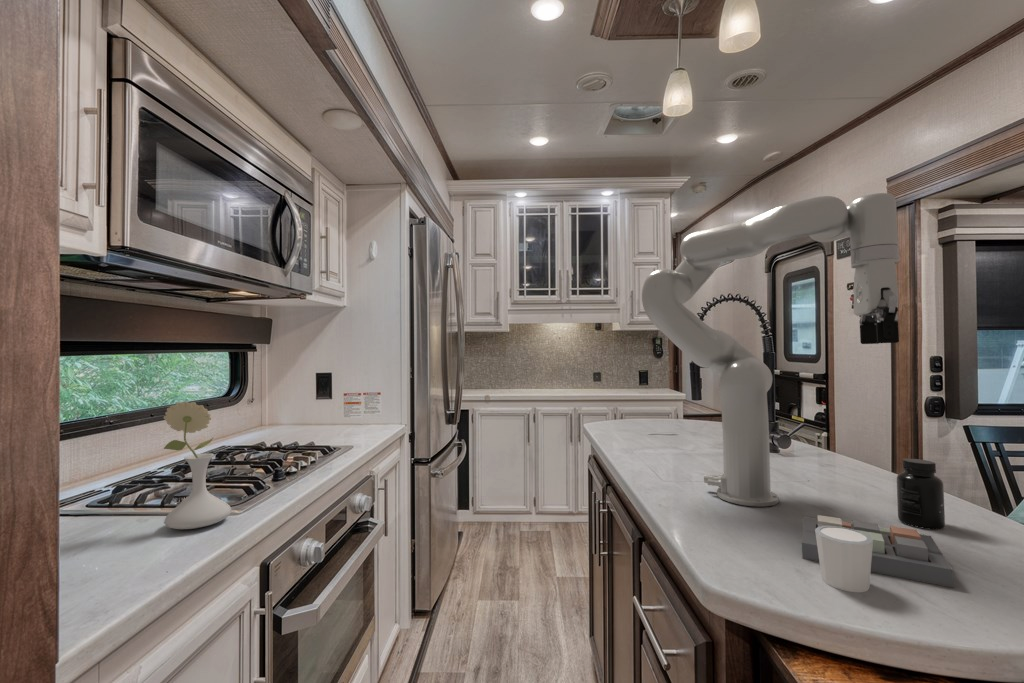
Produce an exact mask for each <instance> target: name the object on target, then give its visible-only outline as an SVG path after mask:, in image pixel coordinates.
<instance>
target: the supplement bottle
mask: <svg viewBox="0 0 1024 683" xmlns="http://www.w3.org/2000/svg"><path fill="white" fill-rule="evenodd" d="M901 468H902V470H903V471H902V472H899V473H898V475H897V476H896V496H897V498H896V502H897V504H896V505H897V517H898V520H899V521H900V522H901V521H902V522H901V523H903V524H905V523H906V524H905V525H908V524H909V525H908V526H911V525H913V526H912V527H915V526H918V527H917V528H919V527H923V528H922V529H925V528H930V529H929V530H940V529H941V528H942V529H944V527H945V524H946V515H945V514H946V513H945V512H946V511H945V491H944V489H945V488H944V482H943V481H942V479H941V478H940V477H938V476H936V475H935V474H937V469H936V463H935V462H934V461H931V460H926V459H918V458H903V459H902V466H901Z"/></svg>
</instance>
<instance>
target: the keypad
mask: <svg viewBox="0 0 1024 683" xmlns="http://www.w3.org/2000/svg"><path fill="white" fill-rule="evenodd" d="M821 526H828V525H822V524H818V517H817V518H816V517H809V516H805V515H804V516H802V531H801V532H802V534H801V558H802V559H804V560H810V561H816V562H819V555H818V547H817V540H816V532H815V529H816V528H817V527H821ZM842 527H845V528H849V529H853V530H860V531H866V532H872V533H878V534H882V537H883V539H884V547H885V554H882V553H876V552H872V560H871V573H876V574H881V575H886V576H887V575H888V576H892V577H897V578H901V579H907V580H912V581H917V582H922V583H928V584H932V585H936V586H942V587H948V588H952V589H953V588H954V572H953V571H954V569H953V568H952V566H951V565H950V563H949V562H948V560H947V559H946V557H945V556H944V554H943V553H942V551H941V550H940V548H939V546H938V545H937V544H936V541H935V540H934V538H933V537H932V536H931V535H927V534H920V533H919V535H920V536H921V540H916V539H910V538H904V537H897V536H894V540H895V545H893V544H891V542H890V528H887V527H881V526H879V524H878V523H875V522H874V523H873V522H867V521H860V520H855V519H853V520H852V523H851V522H847V521H842Z"/></svg>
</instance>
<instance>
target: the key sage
mask: <svg viewBox="0 0 1024 683" xmlns="http://www.w3.org/2000/svg"><path fill="white" fill-rule="evenodd" d="M857 531H860V530H857ZM860 532H862V533H865V534H867V535H868V536H870V537H871V538H872V540H873V548H872V552H876V553H882V554H885V547H884V539H883V537H882V534H878V533H872V532H866V531H860Z"/></svg>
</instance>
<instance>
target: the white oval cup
mask: <svg viewBox="0 0 1024 683" xmlns="http://www.w3.org/2000/svg"><path fill="white" fill-rule="evenodd" d="M815 532H816V540H817V547H818V555H819V561H818V563H819V568H820V576H821V580H822V581H823V582H824V583H825V584H827V585H829V586H830V587H833V588H835V589H837V590H841V591H845V592H850V593H865V592H868V591H869V589H870V583H871V573H872V572H871V560H872V548H873V540H872V538H871V537H870V536H868V535H867V534H865V533H862V532H860V531H857V530H853V529H849V528H845V527H838V526H821V527H817V528H816V529H815Z"/></svg>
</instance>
